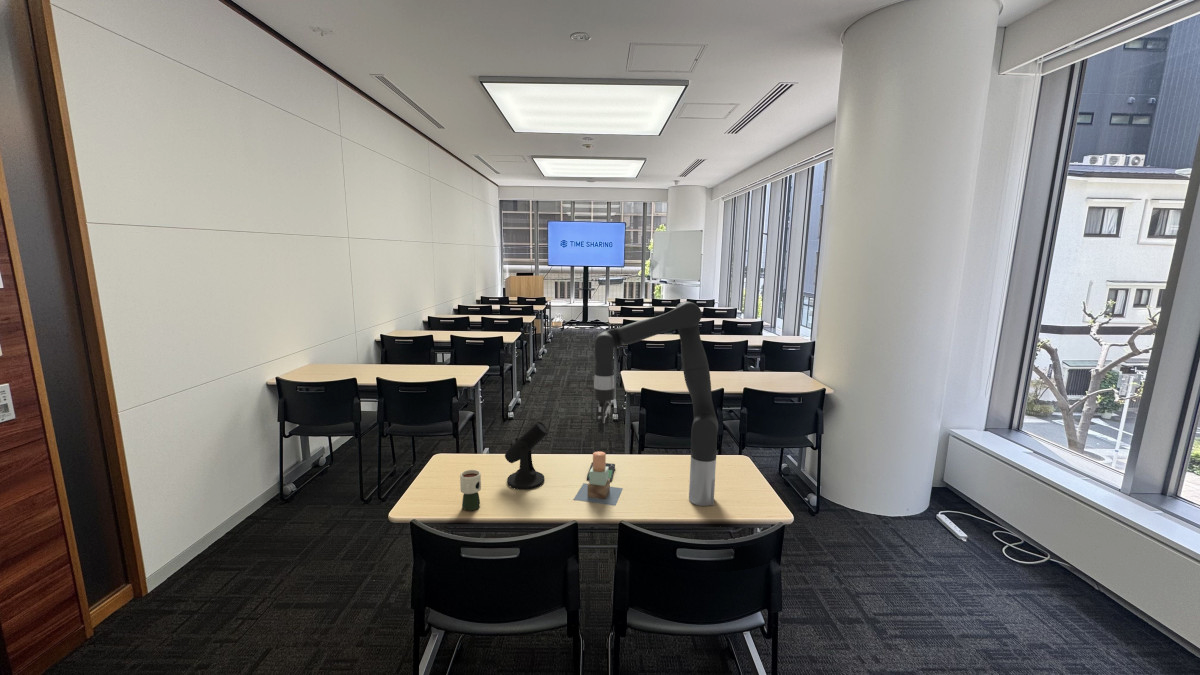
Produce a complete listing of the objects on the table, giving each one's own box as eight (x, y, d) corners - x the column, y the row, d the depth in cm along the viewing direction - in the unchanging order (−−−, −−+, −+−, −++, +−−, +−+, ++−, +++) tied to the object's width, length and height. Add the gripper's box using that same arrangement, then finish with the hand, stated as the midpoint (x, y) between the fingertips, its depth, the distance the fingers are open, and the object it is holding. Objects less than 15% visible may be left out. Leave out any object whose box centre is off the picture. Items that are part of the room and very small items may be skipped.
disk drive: (591, 468, 211) (586, 482, 196) (591, 461, 210) (586, 476, 196) (615, 469, 210) (611, 484, 195) (615, 463, 209) (612, 478, 195)
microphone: (545, 490, 188) (545, 428, 184) (501, 489, 189) (500, 427, 185) (550, 473, 203) (550, 416, 199) (509, 472, 203) (508, 415, 199)
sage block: (608, 479, 186) (608, 466, 185) (604, 486, 180) (605, 473, 179) (593, 477, 187) (593, 464, 187) (589, 484, 182) (589, 471, 181)
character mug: (478, 515, 169) (477, 480, 167) (457, 515, 169) (456, 480, 167) (483, 500, 180) (483, 466, 178) (464, 500, 179) (463, 467, 177)
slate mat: (622, 490, 190) (622, 488, 189) (615, 507, 176) (615, 505, 176) (583, 485, 193) (583, 483, 193) (573, 501, 180) (573, 499, 180)
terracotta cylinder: (606, 467, 185) (606, 452, 184) (603, 472, 180) (604, 457, 179) (594, 465, 186) (594, 450, 185) (591, 470, 181) (591, 455, 180)
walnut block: (609, 490, 187) (610, 478, 186) (605, 499, 180) (605, 486, 180) (592, 488, 189) (592, 476, 188) (587, 496, 182) (587, 484, 181)
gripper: (610, 392, 172) (609, 435, 174) (617, 382, 185) (617, 423, 188) (589, 390, 173) (589, 434, 176) (598, 381, 187) (598, 421, 189)
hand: (603, 428), depth 182 cm, fingers open, 8 cm apart
